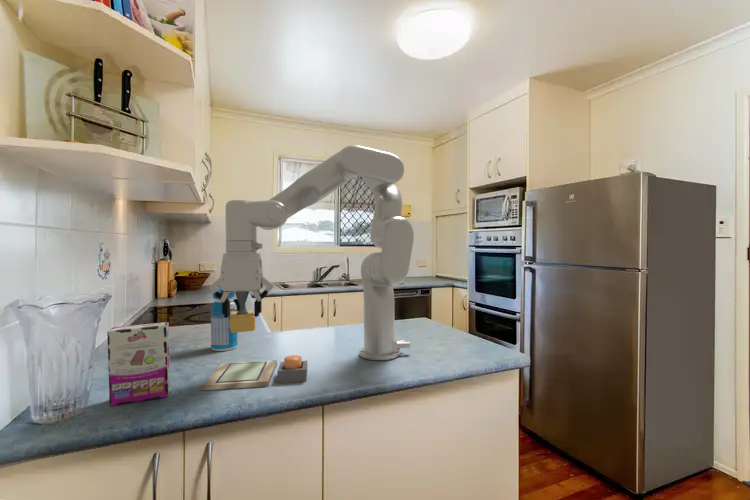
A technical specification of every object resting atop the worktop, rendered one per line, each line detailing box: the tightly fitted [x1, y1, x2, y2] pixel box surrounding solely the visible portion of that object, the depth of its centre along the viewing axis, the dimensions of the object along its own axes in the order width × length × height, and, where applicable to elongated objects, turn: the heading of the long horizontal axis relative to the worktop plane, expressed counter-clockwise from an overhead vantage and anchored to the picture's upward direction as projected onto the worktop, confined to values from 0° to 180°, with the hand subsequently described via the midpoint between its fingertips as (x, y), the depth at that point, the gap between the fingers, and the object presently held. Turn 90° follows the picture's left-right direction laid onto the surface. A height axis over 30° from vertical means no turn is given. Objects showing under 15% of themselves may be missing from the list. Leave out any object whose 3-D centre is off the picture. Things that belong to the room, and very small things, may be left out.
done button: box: [283, 354, 303, 369], centre depth 92 cm, size 4×4×4 cm
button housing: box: [276, 360, 308, 384], centre depth 92 cm, size 7×7×3 cm
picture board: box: [202, 359, 278, 391], centre depth 93 cm, size 15×16×1 cm
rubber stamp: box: [230, 291, 256, 333], centre depth 93 cm, size 10×6×12 cm, turn 23°
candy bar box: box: [106, 321, 172, 407], centre depth 80 cm, size 11×5×16 cm, turn 114°
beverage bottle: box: [209, 287, 239, 352], centre depth 119 cm, size 8×8×20 cm
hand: (242, 315), depth 93 cm, fingers closed on rubber stamp, 6 cm apart
